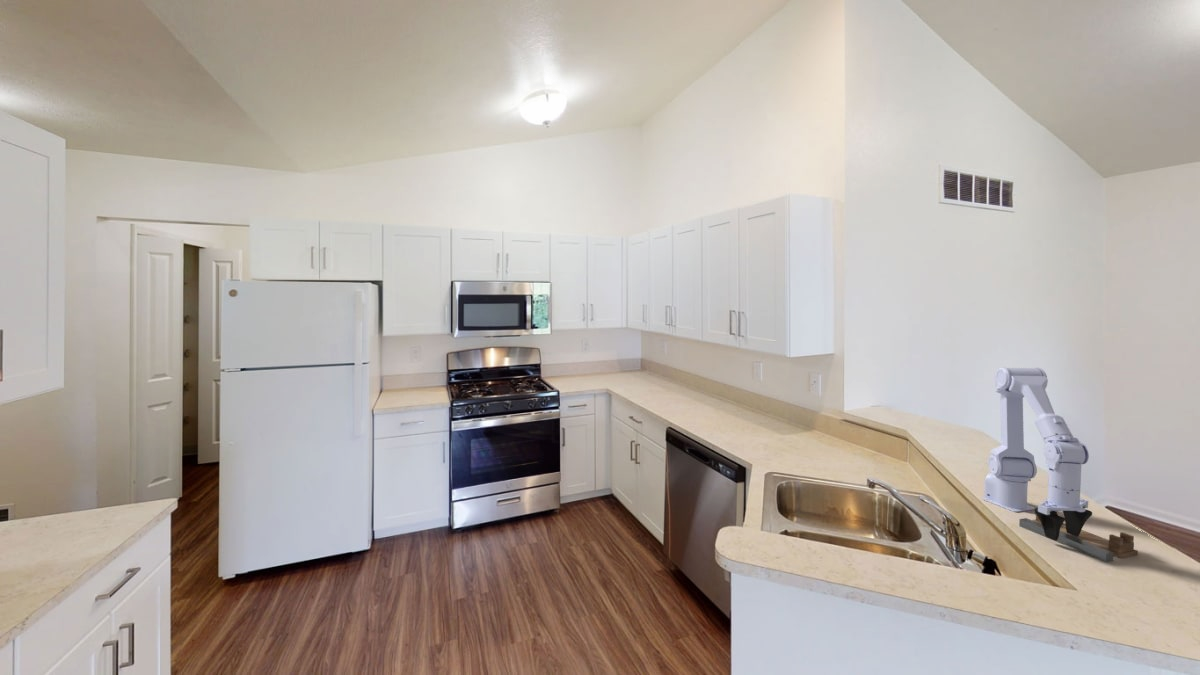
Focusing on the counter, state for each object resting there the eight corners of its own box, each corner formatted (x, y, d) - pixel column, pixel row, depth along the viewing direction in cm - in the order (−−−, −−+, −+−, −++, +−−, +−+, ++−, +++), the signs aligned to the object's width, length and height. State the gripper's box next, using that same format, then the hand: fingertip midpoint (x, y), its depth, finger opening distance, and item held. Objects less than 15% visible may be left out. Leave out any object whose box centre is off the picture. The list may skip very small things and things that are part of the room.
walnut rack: (1032, 523, 122) (1032, 507, 122) (1047, 520, 124) (1048, 505, 123) (1120, 558, 105) (1121, 540, 104) (1137, 554, 106) (1138, 536, 106)
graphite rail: (1019, 527, 121) (1019, 519, 121) (1025, 526, 122) (1026, 518, 121) (1105, 563, 104) (1106, 554, 103) (1113, 562, 104) (1113, 552, 104)
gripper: (1063, 496, 106) (1061, 548, 107) (1104, 489, 109) (1102, 540, 110) (1029, 485, 113) (1027, 534, 114) (1069, 478, 116) (1067, 527, 117)
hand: (1062, 536), depth 113 cm, fingers open, 7 cm apart
